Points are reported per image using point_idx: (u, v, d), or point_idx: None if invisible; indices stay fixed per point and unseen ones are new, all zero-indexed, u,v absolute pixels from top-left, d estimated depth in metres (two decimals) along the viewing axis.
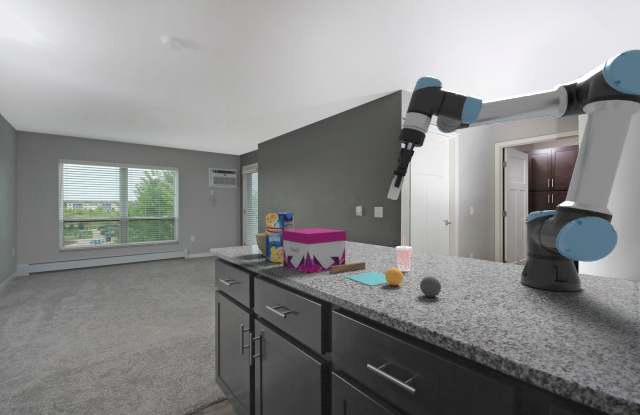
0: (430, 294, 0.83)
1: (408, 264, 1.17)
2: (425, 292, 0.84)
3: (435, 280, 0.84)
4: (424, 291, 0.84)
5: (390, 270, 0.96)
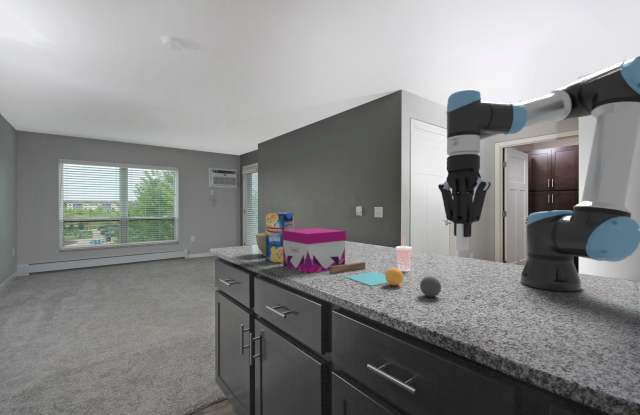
0: (430, 294, 0.83)
1: (408, 264, 1.17)
2: (425, 292, 0.84)
3: (435, 280, 0.84)
4: (424, 291, 0.84)
5: (390, 270, 0.96)
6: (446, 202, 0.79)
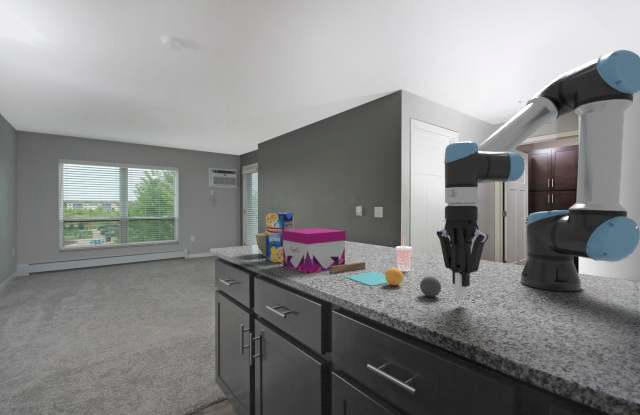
0: (430, 294, 0.83)
1: (408, 264, 1.17)
2: (425, 292, 0.84)
3: (435, 280, 0.84)
4: (424, 291, 0.84)
5: (390, 270, 0.96)
6: (444, 250, 0.79)
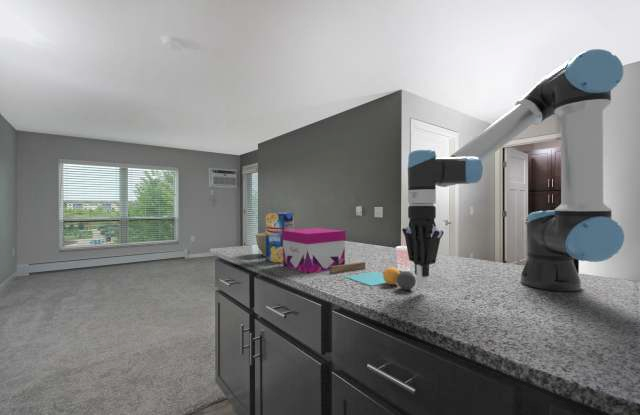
0: (400, 274, 0.92)
1: (408, 264, 1.17)
2: (401, 278, 0.91)
3: None
4: (401, 279, 0.90)
5: (386, 269, 0.98)
6: (408, 244, 0.90)
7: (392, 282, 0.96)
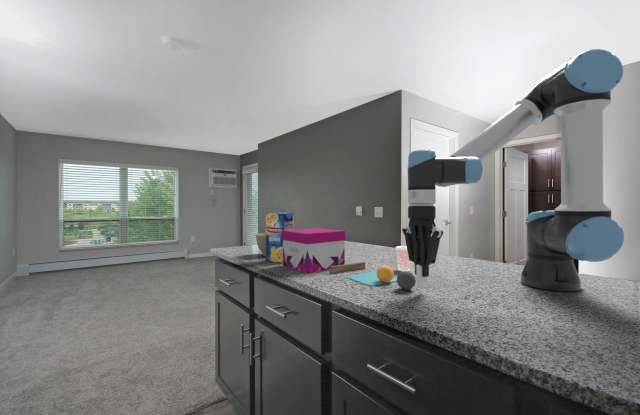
0: (400, 274, 0.92)
1: (408, 264, 1.17)
2: (401, 278, 0.91)
3: None
4: (401, 279, 0.90)
5: None
6: (408, 244, 0.90)
7: (386, 272, 0.98)
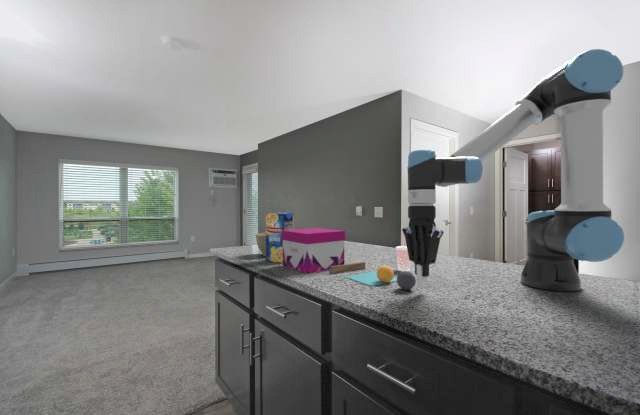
0: (400, 274, 0.92)
1: (408, 264, 1.17)
2: (401, 278, 0.91)
3: None
4: (401, 279, 0.90)
5: None
6: (408, 244, 0.90)
7: (386, 272, 0.98)
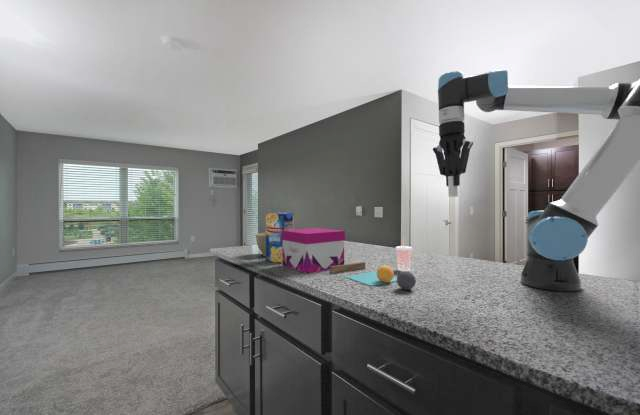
0: (400, 274, 0.92)
1: (408, 264, 1.17)
2: (401, 278, 0.91)
3: None
4: (401, 279, 0.90)
5: None
6: (439, 161, 1.00)
7: (386, 272, 0.98)
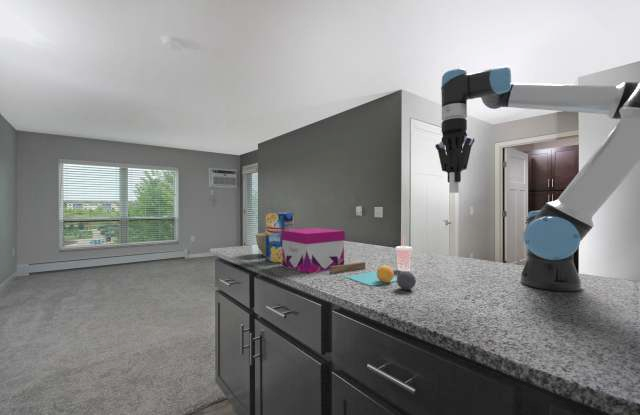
0: (400, 274, 0.92)
1: (408, 264, 1.17)
2: (401, 278, 0.91)
3: None
4: (401, 279, 0.90)
5: None
6: (441, 157, 1.02)
7: (386, 272, 0.98)
